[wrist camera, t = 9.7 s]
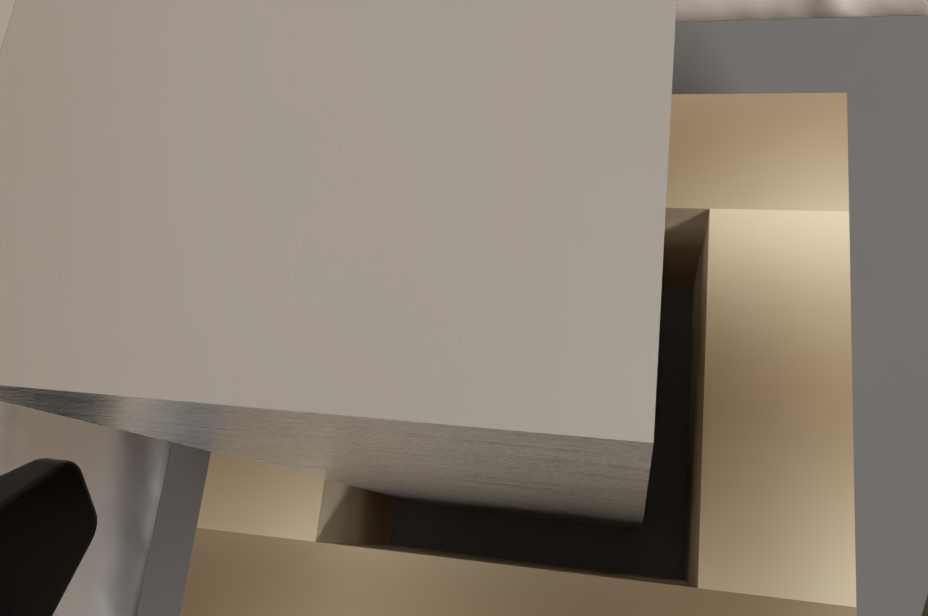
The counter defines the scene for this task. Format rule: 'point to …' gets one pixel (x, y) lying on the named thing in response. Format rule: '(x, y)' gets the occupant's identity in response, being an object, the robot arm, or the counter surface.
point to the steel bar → (347, 237)
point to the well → (709, 431)
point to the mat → (872, 334)
